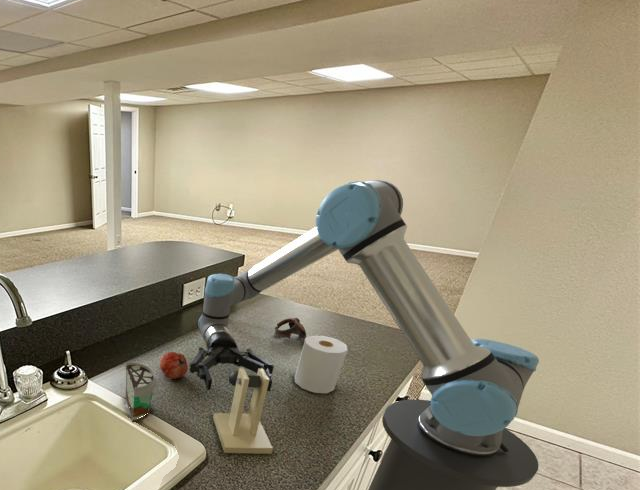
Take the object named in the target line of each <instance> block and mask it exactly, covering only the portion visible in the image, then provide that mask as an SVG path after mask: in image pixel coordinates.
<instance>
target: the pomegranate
mask: <svg viewBox="0 0 640 490" xmlns="http://www.w3.org/2000/svg"><path fill="white" fill-rule="evenodd" d="M159 367H160V370H161V372H162V373H163V376H164V377H166V378H167V379H171V380H175V379H178V378H183V377H184V376H185V375H186V374H187V373H188V368H189V366H188V363H187V358H186V357H185V355H184V354H183V353H178V352H176V351H169V352H166V353H164V355H162V357H161V359H160V364H159Z"/></svg>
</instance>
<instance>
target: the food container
mask: <svg viewBox="0 0 640 490" xmlns="http://www.w3.org/2000/svg"><path fill="white" fill-rule="evenodd" d="M157 385H158V381H157V376H156V374H155V372H154V370H153V369H152V368H151V367H149V366H147V365H145V364H142V363H140V362H139V363H138V362H133V361H131V362H130V361H127V362H126V363H125V402H126V405H127V409H128V413H129V415H130V420H131V423H137V422H141V421H143V420H145V419H146V418H147V417H148V416H149V415H150V412H151V405H152V399H153V395H154V391H155V389H156V388H157ZM129 407H130V408H129ZM147 413H148V414H147ZM145 414H146V415H145ZM144 415H145V416H144ZM141 416H143V417H141ZM139 417H141V418H139ZM137 418H138V419H137Z"/></svg>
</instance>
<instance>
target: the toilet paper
mask: <svg viewBox="0 0 640 490" xmlns="http://www.w3.org/2000/svg"><path fill="white" fill-rule="evenodd" d="M347 353H348V346H347V344H346V343H344V342H343V341H341V340H340V339H337V338H333V337H330V336H327V335H314V334H313V335H310V336H306V338H305V341H304V345H303V344H302V349H301V352H300V356H299V360H298V363H297V366H296V371H295V374H294V383H295V384H296V385H297V386H298V387H300V388H301V389H302V390H306V391H308V392H311V393H314V394H329V393H331V392H333V391H335V389H336V385H337V383H338V380H339V377H340V374H341V371H342V369H343V365H344V362H345V360H346V357H347Z"/></svg>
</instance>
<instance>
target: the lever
mask: <svg viewBox="0 0 640 490" xmlns="http://www.w3.org/2000/svg"><path fill="white" fill-rule="evenodd" d="M238 372H239V370H233V371H232V372H231V373H230V374H229V375H228V382H229V384H230V385H232V386H234V387H236V382H237V377H238ZM247 375H248V377H249V384H248V388H250V389H251V388H252V389H254V388H260V376H258V375H257V374H247Z"/></svg>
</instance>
